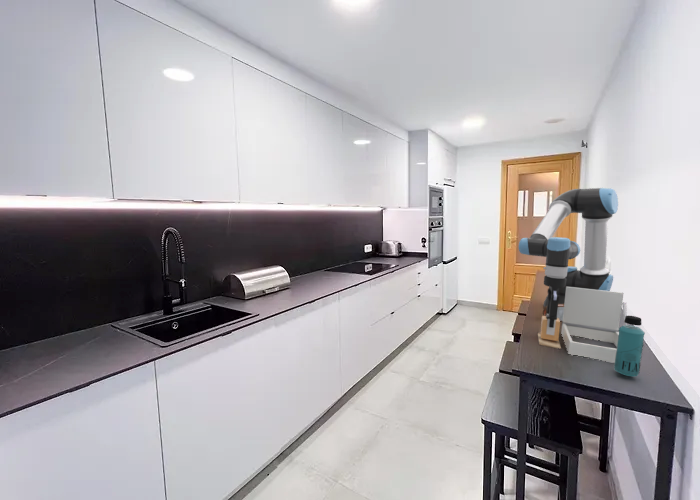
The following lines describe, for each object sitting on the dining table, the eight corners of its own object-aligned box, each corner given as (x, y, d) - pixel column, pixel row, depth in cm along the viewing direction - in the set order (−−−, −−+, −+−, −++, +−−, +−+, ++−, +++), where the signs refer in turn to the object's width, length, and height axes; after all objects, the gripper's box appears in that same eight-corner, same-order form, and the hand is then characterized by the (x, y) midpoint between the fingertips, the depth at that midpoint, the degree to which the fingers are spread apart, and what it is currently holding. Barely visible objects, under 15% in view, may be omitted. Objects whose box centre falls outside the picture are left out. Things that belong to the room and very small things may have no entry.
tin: (569, 319, 160) (571, 303, 159) (574, 322, 157) (576, 305, 156) (541, 320, 159) (542, 303, 157) (545, 322, 155) (547, 305, 154)
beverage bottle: (617, 378, 105) (625, 318, 102) (609, 369, 111) (616, 312, 108) (642, 383, 102) (651, 321, 100) (633, 373, 108) (641, 315, 106)
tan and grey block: (540, 333, 137) (542, 314, 136) (556, 336, 135) (559, 316, 134) (540, 338, 133) (542, 318, 132) (558, 341, 130) (560, 320, 129)
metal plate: (537, 333, 142) (537, 332, 142) (557, 336, 139) (557, 335, 139) (539, 345, 129) (539, 344, 129) (560, 349, 126) (561, 348, 126)
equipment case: (561, 333, 142) (566, 286, 139) (620, 343, 133) (627, 292, 130) (568, 354, 121) (574, 299, 119) (639, 367, 112) (648, 308, 109)
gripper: (542, 271, 140) (537, 323, 143) (546, 279, 124) (540, 338, 127) (563, 273, 137) (557, 326, 140) (569, 281, 121) (563, 341, 124)
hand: (549, 331), depth 134 cm, fingers closed on tan and grey block, 5 cm apart
